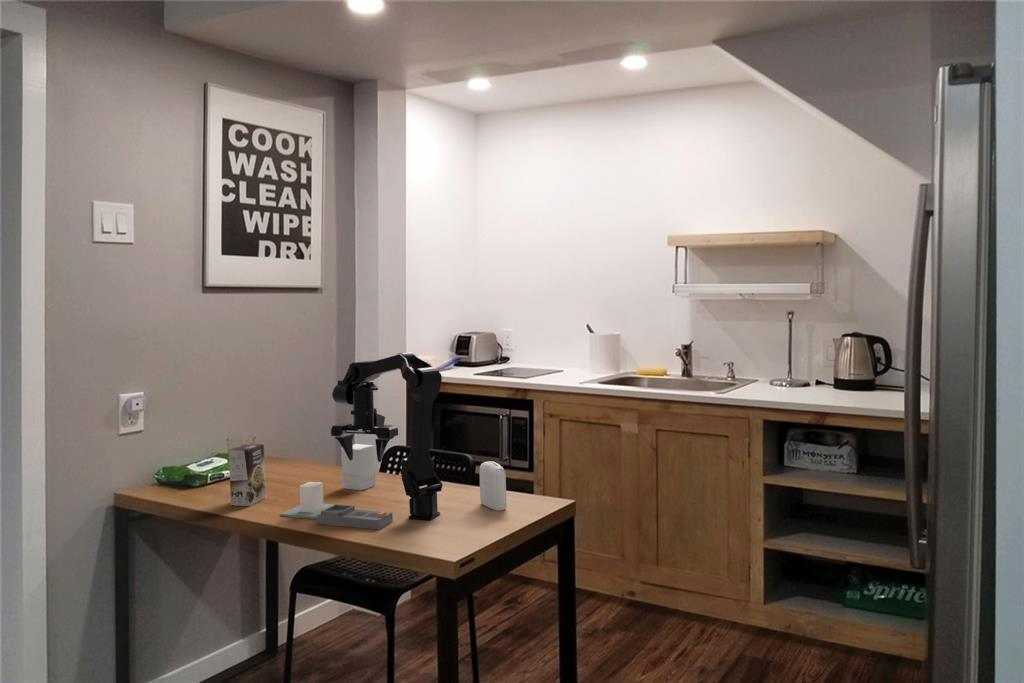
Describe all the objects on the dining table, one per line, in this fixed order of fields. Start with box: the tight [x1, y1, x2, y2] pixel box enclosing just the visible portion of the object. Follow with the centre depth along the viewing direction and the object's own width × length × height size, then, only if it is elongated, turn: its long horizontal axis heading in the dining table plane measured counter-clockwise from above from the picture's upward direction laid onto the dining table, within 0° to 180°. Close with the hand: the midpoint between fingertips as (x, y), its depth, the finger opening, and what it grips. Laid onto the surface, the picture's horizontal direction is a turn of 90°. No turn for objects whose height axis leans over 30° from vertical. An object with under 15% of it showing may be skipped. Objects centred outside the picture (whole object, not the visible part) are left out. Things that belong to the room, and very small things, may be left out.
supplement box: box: [340, 443, 377, 491], centre depth 246 cm, size 7×7×13 cm
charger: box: [299, 481, 324, 513], centre depth 219 cm, size 4×5×7 cm
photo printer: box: [478, 460, 508, 511], centre depth 220 cm, size 10×4×12 cm, turn 27°
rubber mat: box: [279, 503, 334, 520], centre depth 219 cm, size 12×12×1 cm
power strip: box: [316, 503, 394, 530], centre depth 208 cm, size 18×7×3 cm, turn 70°
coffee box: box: [228, 443, 267, 507], centre depth 231 cm, size 9×6×16 cm
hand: (365, 461), depth 227 cm, fingers open, 9 cm apart
